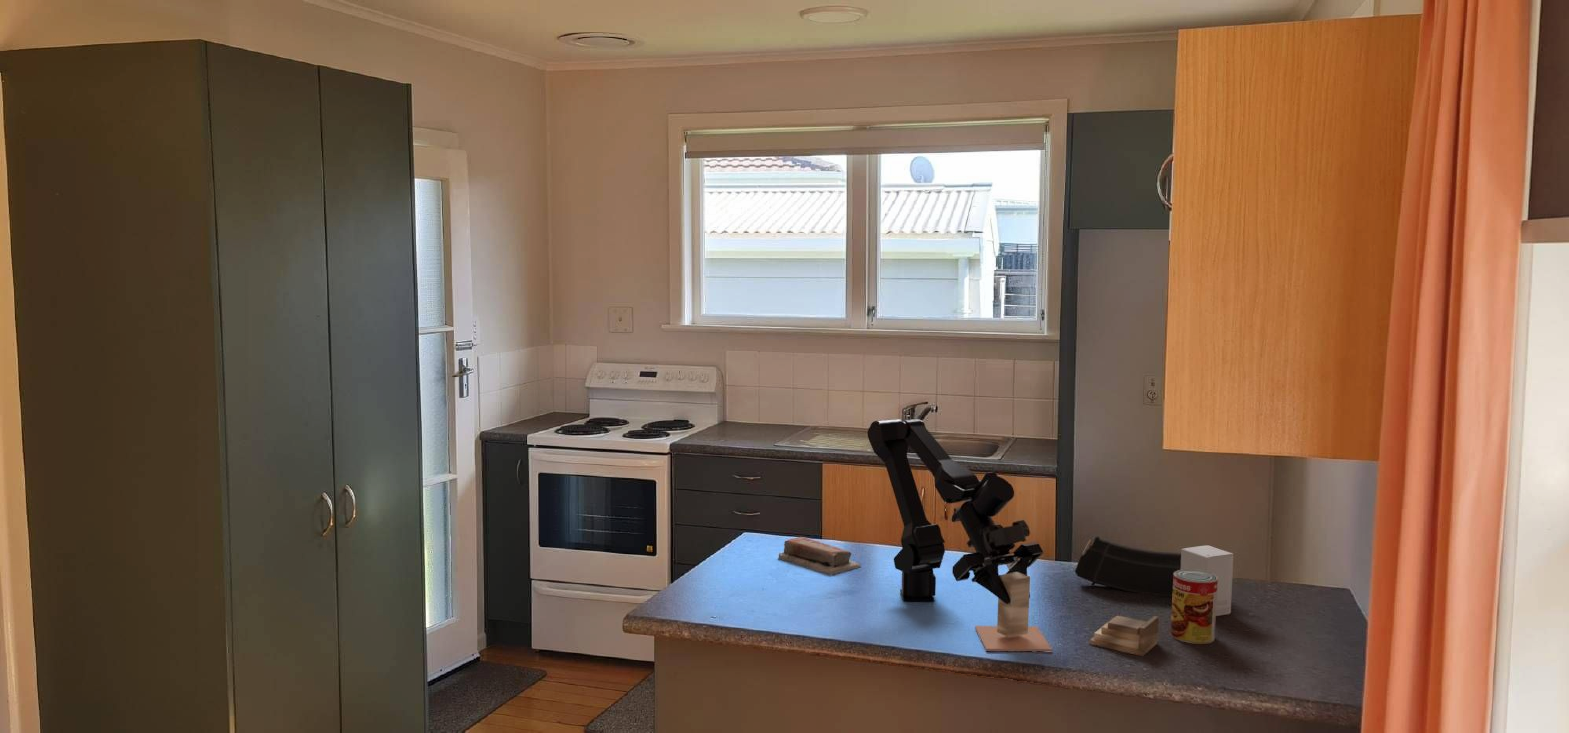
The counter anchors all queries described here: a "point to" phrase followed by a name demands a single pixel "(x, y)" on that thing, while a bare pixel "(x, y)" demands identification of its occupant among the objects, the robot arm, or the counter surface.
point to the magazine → (1128, 567)
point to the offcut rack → (1127, 635)
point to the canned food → (1194, 606)
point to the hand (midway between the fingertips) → (1018, 600)
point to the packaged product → (817, 556)
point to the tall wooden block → (1014, 605)
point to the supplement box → (1212, 571)
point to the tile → (1012, 640)
